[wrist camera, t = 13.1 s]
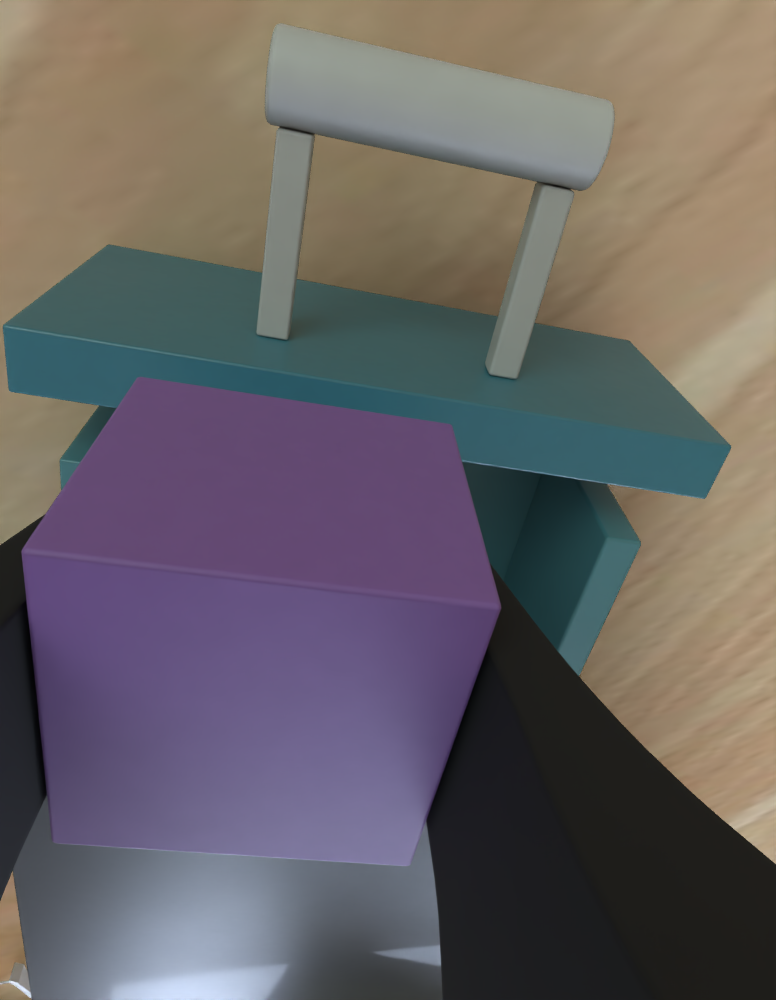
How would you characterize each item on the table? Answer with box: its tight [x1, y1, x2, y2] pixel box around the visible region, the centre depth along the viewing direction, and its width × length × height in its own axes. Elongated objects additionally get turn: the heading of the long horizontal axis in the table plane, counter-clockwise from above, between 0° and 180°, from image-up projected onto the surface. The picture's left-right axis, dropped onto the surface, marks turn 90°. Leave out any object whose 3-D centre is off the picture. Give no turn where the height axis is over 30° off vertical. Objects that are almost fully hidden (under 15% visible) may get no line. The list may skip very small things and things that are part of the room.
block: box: [21, 377, 501, 866], centre depth 9 cm, size 4×4×4 cm
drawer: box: [3, 23, 731, 676], centre depth 17 cm, size 18×13×6 cm
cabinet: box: [13, 796, 443, 1000], centre depth 24 cm, size 15×14×8 cm
